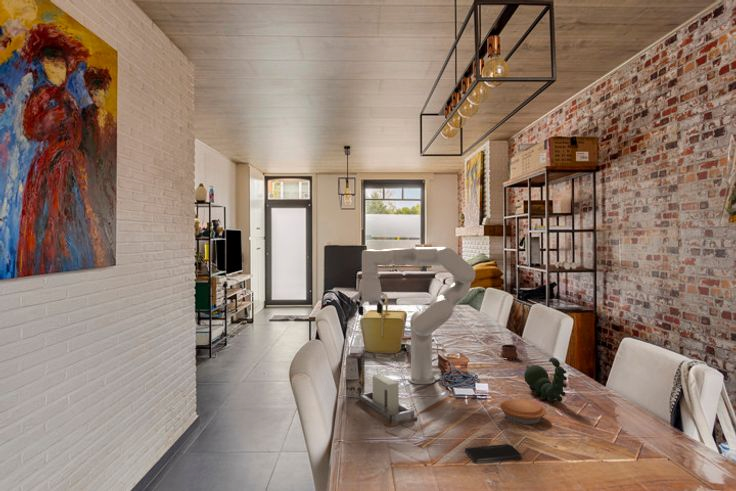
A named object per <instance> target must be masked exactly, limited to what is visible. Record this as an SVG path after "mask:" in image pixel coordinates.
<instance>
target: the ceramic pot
mask: <svg viewBox="0 0 736 491" xmlns="http://www.w3.org/2000/svg"><path fill="white" fill-rule="evenodd" d="M517 348H518V346H516V345H515V344H503V345H502V346H501V353H500V356H501V358H502V357H503V358H507V359H515V358H517V359H518V355H519V354H518V352H517Z"/></svg>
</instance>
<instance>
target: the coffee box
mask: <svg viewBox="0 0 736 491" xmlns="http://www.w3.org/2000/svg"><path fill="white" fill-rule="evenodd" d="M365 356H366V355H365V352H350V353H348V355H347V356H346V357H345V397H347V398H356V399H359V394H362V393H365V391H366V390H365V387H366V386H365V385H366V384H365V382H366V381H365V378H366V375H365V374H366V371H365V369H366V368H365V365H366V364H365V361H366V360H365Z"/></svg>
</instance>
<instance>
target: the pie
mask: <svg viewBox="0 0 736 491" xmlns="http://www.w3.org/2000/svg"><path fill="white" fill-rule="evenodd" d="M499 404H500V405H499V407H500V409H501V411H502V412H503V414H504V415H505V417H506V418H507V419H508V420H509V421H511V422H513V423H517V424H522V425H534V424H538V423H539V422H540V421H541V419H542V417H544V416H545V415H546V414H547V409H546V408H545V407H544V406H543V405H541V404H539V403H537V402H536V401H533V400H530V399H529V400H528V399H524V398H523V399H522V398H511V399H507V400H505V401H502V402H501V403H499Z"/></svg>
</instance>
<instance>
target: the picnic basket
mask: <svg viewBox="0 0 736 491" xmlns="http://www.w3.org/2000/svg"><path fill="white" fill-rule="evenodd" d="M388 300H389V298H388V296H387V297H386V299H385V301H384V303H385V309H384V303H383V305H382V313H381V314H380V313H377V309H369V310H368V311H367V312H366V313H365V314H363V315H362V318H360V319H359V324H360V330H361V336H362V341H363V346H364V349H365V351H367V352H369V353H372V352H373V353H375V354H380V353H381V354H397V353H399V352H400V351H401V349H402V342H403V339H404V336H405V330H406V325H407V324H406V323H407V317H408V313H407V311H405V310H393V309H392V310H389V309H388V308H389V306H388V304H389V302H388ZM373 353H372V354H373Z"/></svg>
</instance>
